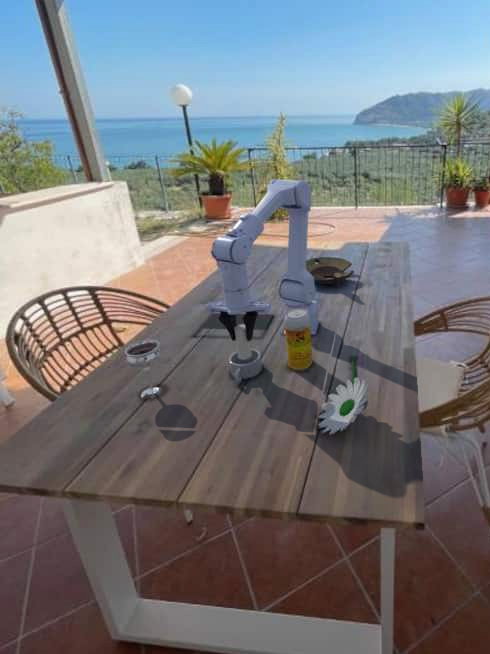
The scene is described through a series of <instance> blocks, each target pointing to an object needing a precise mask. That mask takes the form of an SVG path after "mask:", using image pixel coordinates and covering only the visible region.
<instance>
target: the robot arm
mask: <svg viewBox="0 0 490 654" xmlns="http://www.w3.org/2000/svg"><path fill="white" fill-rule="evenodd" d="M311 206H312V188H311V186H310V185H309V183H308V182H307V181H306V180H293V179H292V180H290V179H279V178H274V179H272V180H271V181H270V183H269V184H268V185H267V186H266V194H265V195H264V196H263V198H262V199H261V200H260V202H259V203H258V204H257V205H256V207H255V208H254V210H253V211H252V212H251V213H250V212H248V213H243V214H241V216H239V219H238V220H237V221H236V222H235V224H234V225H233V226H232V227H231V228H230V229H229V230H228V231H227V232H226V234H222V235H219V236H218V237H217V238H215V239H214V241H213V242H212V245H211V250H210V255H211V257H212V259H214V260H215V262H216V267H217V268H218V269H219V275H220V280H221V287H222V295H223V300H221V301H209V302H208V303H207V304H206V305H205V309H206V313H207V314H213V313H219V314H220V316H219V321H220V322H221V323H222V324H223V325H224V326H225V327H226V329H225V330H227V333H228V334H229V336H230V339H231V341H232V342H234V341H235V342H236V338H235V330H234V328H235V327H236V326H237V325H236V314H243V313H244V314H245V315H244V317H243V321H244V324H245V328H246V335H247V341H250V342H251V341H252V339H253V338H254V331H255V330H254V325H255V321H256V318H257V315H258V314H260V313H262V314H263V315H269V313H270V311H271V304H270V302H262V301H257V300H251V295H250V286H249V277H248V271H247V260H249V258H250V255H251V250H252V248H253V244H254V243H255V241H256V240H257V239H258V238H259V237H260V236H261V234H262V233H263V232H264V230H265V225H264V223H265V222H266V221H267V220H268V219H269V218H270V217H271V216H272V215H273V214H275V212H276V211H277V210H279V209H280V208H282V209H284V211H285V212H286V213H287V214H288V217H289V218H288V242H287V244H288V245H287V269H286V271H284V272H282V273H281V274H280V276H279V283H278V286H277V294H278V297H279V298H280V299H281V300H282V303H284V305H285V313H286V312H287V311H288V310H290V309H294V308H303V309H305V310H307V312H308V314H309V316H310V332H311V335H316V334H317V331H318V328H319V324H320V320H319V318H320V316H319V303H318V301H315V300H314V299H315V297H316V294H317V293H316V290H317V289H316V286H315V282H314V277H313V276H312V275H311V274H310V273H309V272H308V271H307V270H306V261H307V257H308V256H307V255H308V254H307V253H308V236H309V235H308V234H309V233H308V231H309V228H308V227H309V212H310V211H311ZM283 334H284V335H286V333H285V329H284V330H283Z"/></svg>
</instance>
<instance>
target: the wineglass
mask: <svg viewBox="0 0 490 654" xmlns="http://www.w3.org/2000/svg"><path fill="white" fill-rule="evenodd" d="M159 346H160V342H159V341H157V339H156V340H155V339H143V340H138V341H135V342H134V343H132V344H130V345H128V346H127V347H126V348H125V350H124V352H125V354H126V362H127V364H128V365H129V366H130V367H131V368H132V369H135V370H138V371H145V373H146V376H147V380H148V382H149V385H150V387H148V388H146V389H145V390H143V391H142V392H141V394H140V397H141V398H142V399H143V398H144V396H145V395H155V394H156V393H158V392H159V391H160V388H159V387H157V386H154V385H153V379H152V375H151V369H152V368H153V367H155V366H156V365H157V364H158V363H159V362H160V360H161V357H162V350H161V347H159Z"/></svg>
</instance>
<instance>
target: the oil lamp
mask: <svg viewBox="0 0 490 654" xmlns="http://www.w3.org/2000/svg"><path fill="white" fill-rule="evenodd" d="M352 265H353V264H352V262H350V261H349V260H347V259H344V258H341V257H330V256H318V257H312V258H310V259H306V270H307V271H308V272H309V273H310V274H311V275H312V276H313V277H314V283H317V284H332V285H334V286H340V285H341V284H342V283H343V281H344V280H346V279H348V278H350V277H352V275H353V274H354V273H355V271H354V270H349V271H347V270H348V269H349V268H350V267H351V266H352ZM345 271H347V272H345ZM326 277H330V278H326ZM331 277H332V278H331Z"/></svg>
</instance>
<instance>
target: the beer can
mask: <svg viewBox="0 0 490 654" xmlns="http://www.w3.org/2000/svg"><path fill="white" fill-rule="evenodd" d="M283 321H284V330H285V333H286V334H285V341H286V342H285V343H286V344H285V345H286V356H287V365H288V367H289V368H291V369H292V370H294V371H303V370H307V369H308V368H310V366H312V364H313V355H312V354H313V353H312V352H313V351H312V334H311V332H310V316H309V314H308V312H307V310H305V309H303V308H294V309H290V310H288V311H287V312H286V311H285V315H284V317H283Z"/></svg>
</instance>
